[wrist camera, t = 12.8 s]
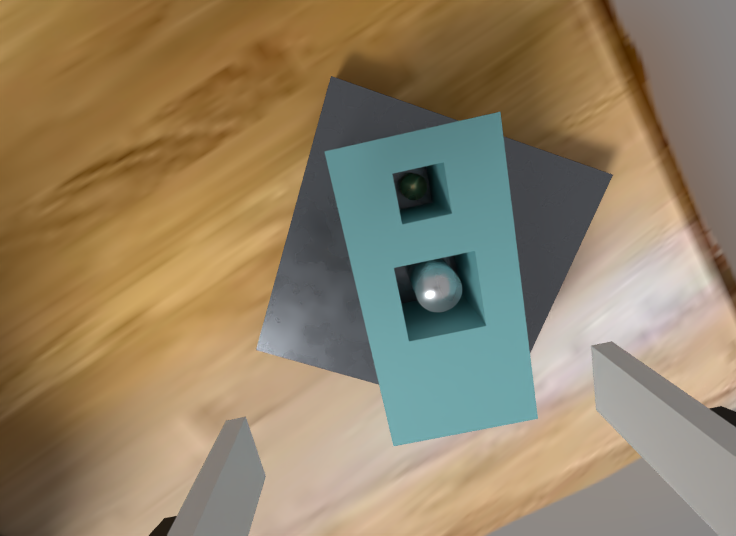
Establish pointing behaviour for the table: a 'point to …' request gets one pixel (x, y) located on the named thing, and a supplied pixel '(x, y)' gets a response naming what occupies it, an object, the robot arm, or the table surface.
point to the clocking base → (323, 250)
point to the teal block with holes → (474, 268)
